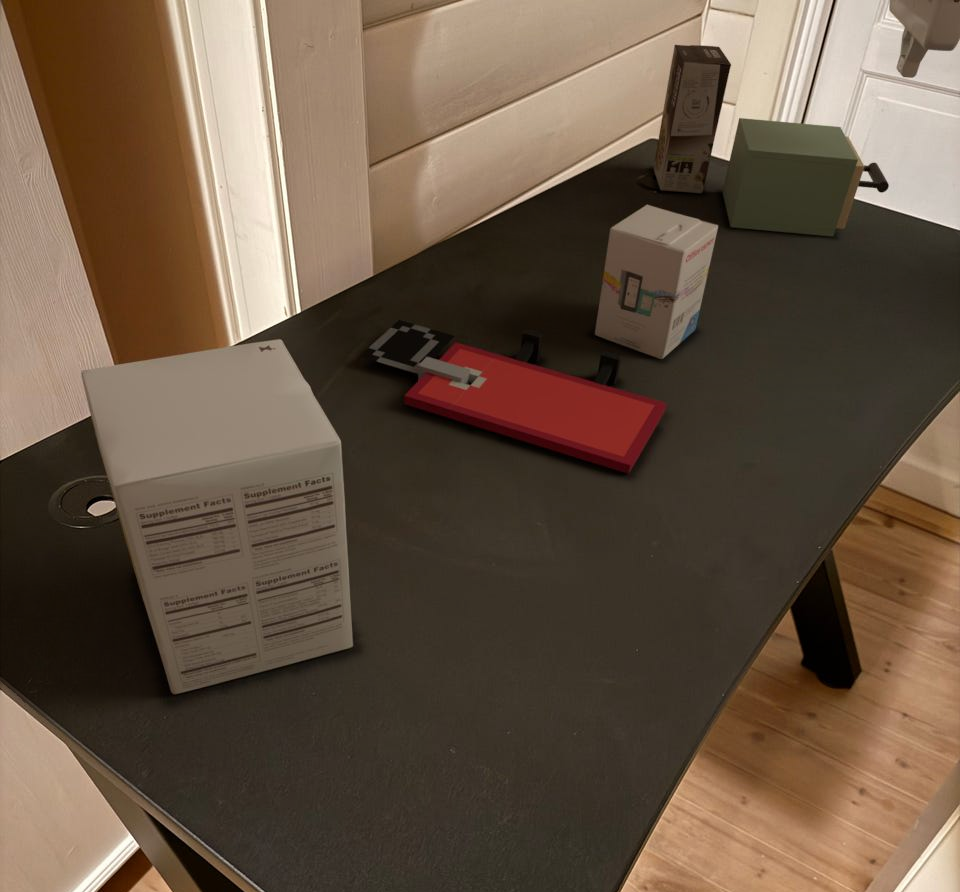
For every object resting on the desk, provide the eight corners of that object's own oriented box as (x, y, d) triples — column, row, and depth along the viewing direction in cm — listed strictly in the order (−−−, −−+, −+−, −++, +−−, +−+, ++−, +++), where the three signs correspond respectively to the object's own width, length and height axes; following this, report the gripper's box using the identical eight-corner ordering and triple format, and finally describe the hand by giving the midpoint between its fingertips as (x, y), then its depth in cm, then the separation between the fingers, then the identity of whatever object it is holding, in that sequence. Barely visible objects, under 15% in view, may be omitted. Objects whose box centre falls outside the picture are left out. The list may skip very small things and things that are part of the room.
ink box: (629, 307, 106) (647, 201, 98) (697, 330, 103) (722, 223, 95) (592, 335, 101) (608, 226, 93) (662, 361, 98) (685, 250, 90)
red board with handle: (407, 320, 101) (336, 386, 91) (407, 295, 99) (334, 360, 89) (674, 397, 93) (627, 478, 84) (680, 372, 91) (633, 452, 82)
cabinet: (818, 200, 133) (840, 126, 126) (833, 236, 124) (858, 159, 117) (722, 191, 133) (739, 117, 126) (730, 227, 124) (749, 149, 117)
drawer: (862, 199, 131) (882, 139, 126) (878, 232, 123) (900, 169, 118) (740, 188, 132) (755, 128, 126) (749, 220, 124) (765, 157, 118)
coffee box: (704, 194, 132) (732, 64, 120) (659, 191, 132) (683, 60, 120) (695, 170, 138) (721, 45, 127) (652, 168, 138) (674, 41, 127)
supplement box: (135, 575, 71) (76, 366, 58) (304, 537, 75) (283, 334, 63) (170, 699, 63) (109, 487, 50) (358, 648, 67) (345, 440, 54)
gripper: (1005, -46, 98) (953, 101, 108) (954, -78, 112) (912, 54, 122) (944, -50, 98) (897, 97, 108) (901, -81, 113) (863, 51, 122)
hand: (905, 74), depth 115 cm, fingers closed
